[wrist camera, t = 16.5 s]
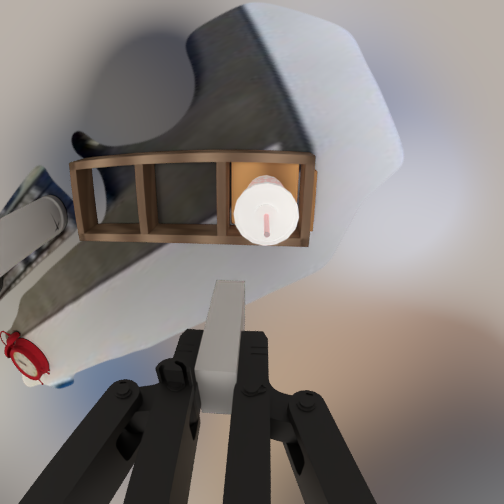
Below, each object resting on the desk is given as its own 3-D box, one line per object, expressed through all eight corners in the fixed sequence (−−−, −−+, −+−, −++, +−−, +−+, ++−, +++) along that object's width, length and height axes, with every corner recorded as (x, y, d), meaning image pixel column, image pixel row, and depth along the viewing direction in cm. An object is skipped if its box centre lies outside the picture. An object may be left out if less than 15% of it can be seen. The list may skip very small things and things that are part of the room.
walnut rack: (93, 230, 39) (79, 240, 36) (85, 158, 35) (69, 162, 31) (307, 234, 38) (311, 246, 35) (313, 152, 34) (319, 156, 31)
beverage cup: (263, 227, 38) (263, 283, 25) (229, 191, 36) (211, 231, 24) (301, 196, 36) (321, 237, 23) (267, 158, 35) (270, 179, 22)
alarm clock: (42, 389, 53) (-9, 358, 46) (48, 370, 58) (0, 339, 51) (50, 374, 49) (-6, 338, 42) (58, 352, 54) (4, 318, 48)
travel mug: (75, 216, 38) (-18, 282, 20) (54, 240, 40) (-29, 308, 22) (52, 184, 36) (-47, 234, 18) (33, 211, 38) (-56, 266, 20)
